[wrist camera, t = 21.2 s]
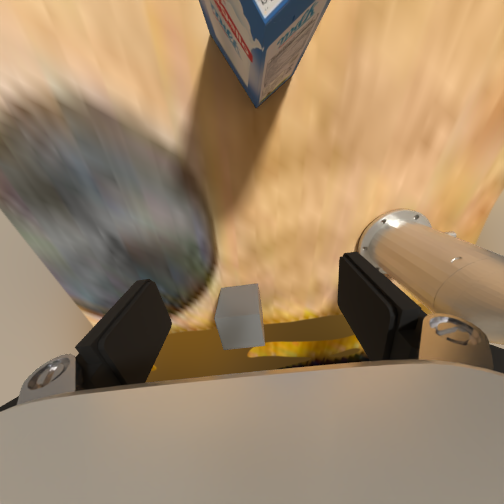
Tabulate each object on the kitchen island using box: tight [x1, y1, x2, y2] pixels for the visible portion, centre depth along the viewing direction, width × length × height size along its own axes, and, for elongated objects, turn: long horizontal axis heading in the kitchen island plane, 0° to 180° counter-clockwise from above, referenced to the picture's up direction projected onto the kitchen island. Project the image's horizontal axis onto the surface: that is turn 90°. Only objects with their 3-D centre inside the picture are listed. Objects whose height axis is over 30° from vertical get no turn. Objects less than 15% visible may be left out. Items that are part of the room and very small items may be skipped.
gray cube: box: [214, 284, 265, 350], centre depth 39 cm, size 8×8×9 cm
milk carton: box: [199, 0, 331, 108], centre depth 17 cm, size 10×6×20 cm, turn 37°
